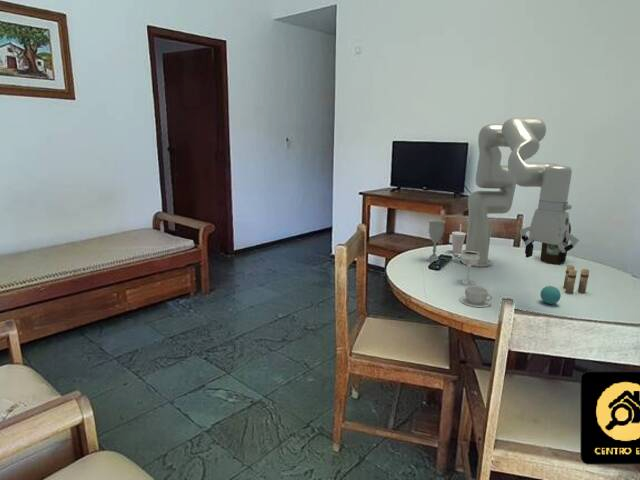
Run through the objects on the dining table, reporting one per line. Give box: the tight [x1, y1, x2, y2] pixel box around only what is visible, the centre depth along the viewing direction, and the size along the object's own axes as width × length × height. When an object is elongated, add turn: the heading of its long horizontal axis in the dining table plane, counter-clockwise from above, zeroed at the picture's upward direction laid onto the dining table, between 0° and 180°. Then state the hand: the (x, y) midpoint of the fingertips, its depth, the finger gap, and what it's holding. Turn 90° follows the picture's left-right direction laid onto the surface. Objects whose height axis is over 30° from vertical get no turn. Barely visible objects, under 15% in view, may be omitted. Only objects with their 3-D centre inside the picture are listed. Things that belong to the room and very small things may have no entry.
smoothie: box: [451, 223, 467, 254], centre depth 200 cm, size 6×6×14 cm
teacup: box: [459, 285, 493, 308], centre depth 143 cm, size 10×10×5 cm
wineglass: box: [460, 249, 480, 286], centre depth 161 cm, size 7×7×12 cm
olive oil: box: [540, 222, 572, 265], centre depth 188 cm, size 11×11×25 cm
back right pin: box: [577, 268, 590, 294], centre depth 153 cm, size 2×2×8 cm
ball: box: [539, 285, 562, 305], centre depth 143 cm, size 6×6×6 cm
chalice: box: [427, 219, 446, 263], centre depth 186 cm, size 7×7×18 cm
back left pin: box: [563, 265, 575, 290], centre depth 157 cm, size 2×2×8 cm
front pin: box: [565, 269, 578, 295], centre depth 152 cm, size 2×2×8 cm
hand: (544, 260), depth 134 cm, fingers open, 9 cm apart
